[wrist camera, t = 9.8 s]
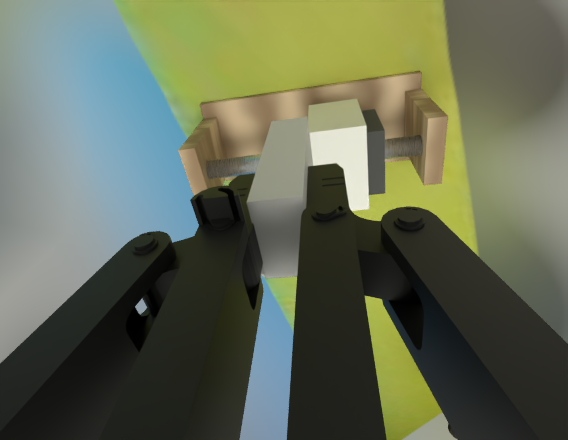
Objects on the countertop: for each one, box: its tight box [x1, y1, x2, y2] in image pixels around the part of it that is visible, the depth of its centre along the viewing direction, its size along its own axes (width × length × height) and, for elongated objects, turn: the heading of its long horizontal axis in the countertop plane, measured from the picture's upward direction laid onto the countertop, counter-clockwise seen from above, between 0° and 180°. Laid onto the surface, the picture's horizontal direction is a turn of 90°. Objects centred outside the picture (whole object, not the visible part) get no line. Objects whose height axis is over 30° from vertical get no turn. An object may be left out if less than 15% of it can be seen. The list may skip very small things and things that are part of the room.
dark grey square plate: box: [361, 109, 385, 195], centre depth 43 cm, size 2×8×8 cm, turn 9°
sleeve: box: [308, 99, 369, 211], centre depth 43 cm, size 6×10×10 cm, turn 9°
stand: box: [178, 71, 448, 196], centre depth 47 cm, size 30×12×12 cm, turn 99°
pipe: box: [206, 135, 423, 179], centre depth 44 cm, size 28×3×3 cm, turn 99°
